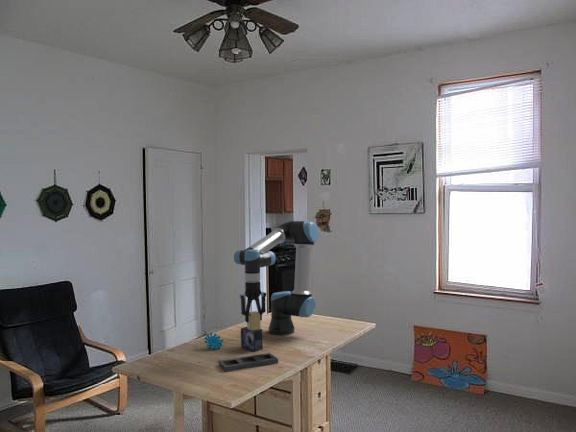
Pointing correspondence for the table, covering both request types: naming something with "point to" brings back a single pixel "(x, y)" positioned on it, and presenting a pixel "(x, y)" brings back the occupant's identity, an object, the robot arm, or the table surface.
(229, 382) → the table surface
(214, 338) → the gear
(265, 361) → the grey flat frame
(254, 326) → the olive yellow block
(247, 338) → the small box
